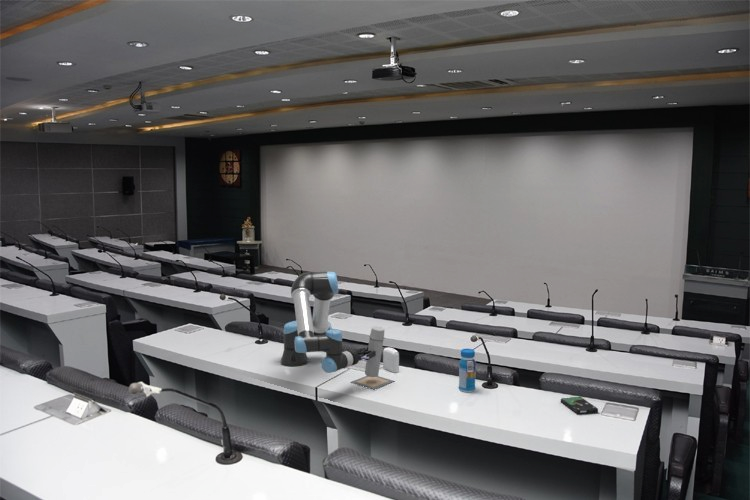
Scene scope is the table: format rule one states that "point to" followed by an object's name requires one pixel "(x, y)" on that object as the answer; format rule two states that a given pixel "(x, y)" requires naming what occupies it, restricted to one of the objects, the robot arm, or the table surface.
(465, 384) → the beverage bottle
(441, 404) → the table surface
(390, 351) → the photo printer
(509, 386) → the table surface
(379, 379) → the pad
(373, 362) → the water bottle
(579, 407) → the disk drive
